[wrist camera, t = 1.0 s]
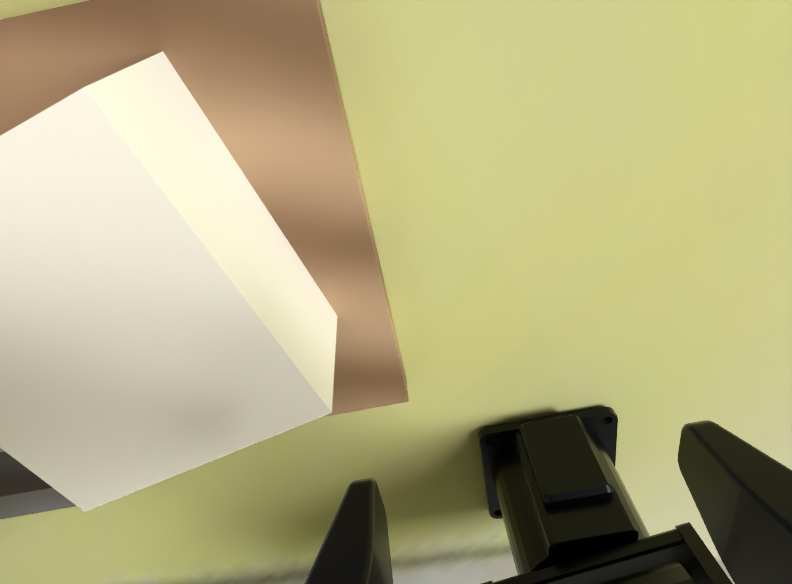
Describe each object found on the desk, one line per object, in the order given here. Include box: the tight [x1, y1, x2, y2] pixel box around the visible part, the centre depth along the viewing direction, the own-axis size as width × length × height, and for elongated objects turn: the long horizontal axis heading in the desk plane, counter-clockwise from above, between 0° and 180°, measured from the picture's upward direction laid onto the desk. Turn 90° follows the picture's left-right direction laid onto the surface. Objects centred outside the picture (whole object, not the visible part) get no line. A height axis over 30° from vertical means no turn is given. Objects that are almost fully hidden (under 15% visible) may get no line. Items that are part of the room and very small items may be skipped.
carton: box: [0, 51, 337, 512], centre depth 16 cm, size 10×9×5 cm
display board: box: [0, 0, 409, 519], centre depth 17 cm, size 16×22×6 cm
